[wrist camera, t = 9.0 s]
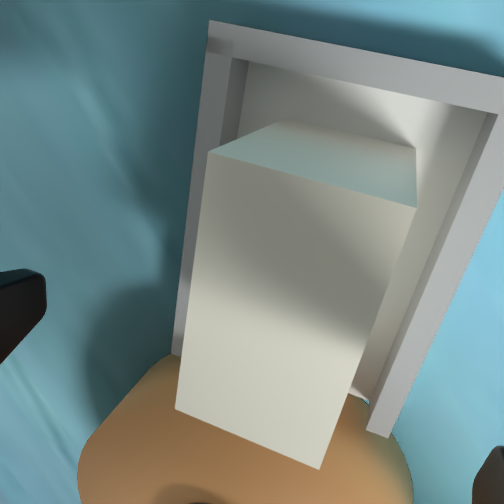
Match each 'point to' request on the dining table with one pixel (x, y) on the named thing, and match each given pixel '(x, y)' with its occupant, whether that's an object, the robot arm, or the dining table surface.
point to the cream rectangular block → (290, 279)
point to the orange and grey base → (393, 304)
